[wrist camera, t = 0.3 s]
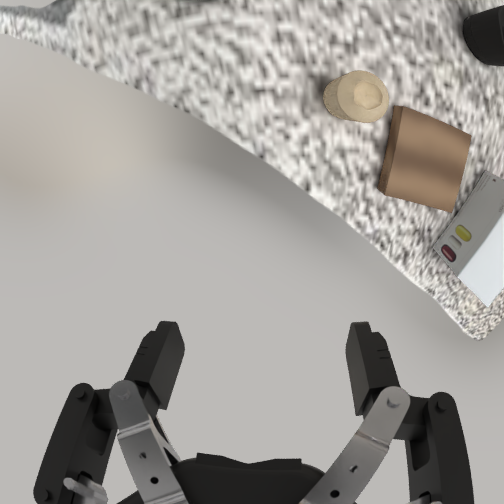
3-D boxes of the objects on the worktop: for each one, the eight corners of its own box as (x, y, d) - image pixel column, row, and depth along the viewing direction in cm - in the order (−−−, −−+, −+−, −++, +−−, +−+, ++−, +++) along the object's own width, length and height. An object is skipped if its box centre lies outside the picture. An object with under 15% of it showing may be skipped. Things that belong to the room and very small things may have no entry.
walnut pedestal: (394, 105, 29) (403, 106, 26) (460, 132, 29) (471, 135, 26) (377, 188, 35) (384, 195, 32) (442, 205, 35) (451, 212, 32)
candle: (333, 125, 31) (354, 131, 23) (315, 86, 29) (330, 78, 20) (370, 111, 30) (402, 114, 21) (353, 73, 28) (380, 62, 19)
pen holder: (494, 26, 17) (530, 21, 8) (502, 74, 21) (542, 77, 13) (454, 7, 18) (491, -6, 9) (464, 58, 23) (506, 55, 14)
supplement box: (483, 168, 31) (520, 186, 22) (512, 212, 33) (542, 234, 25) (430, 246, 38) (456, 278, 30) (465, 279, 41) (488, 309, 32)
